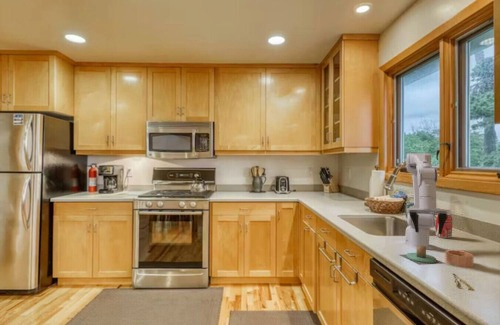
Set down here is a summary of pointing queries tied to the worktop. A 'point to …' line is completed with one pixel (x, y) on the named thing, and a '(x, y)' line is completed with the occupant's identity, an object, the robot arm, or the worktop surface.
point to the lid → (421, 255)
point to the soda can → (444, 228)
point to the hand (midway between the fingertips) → (428, 233)
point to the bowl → (459, 258)
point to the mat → (422, 263)
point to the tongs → (463, 283)
